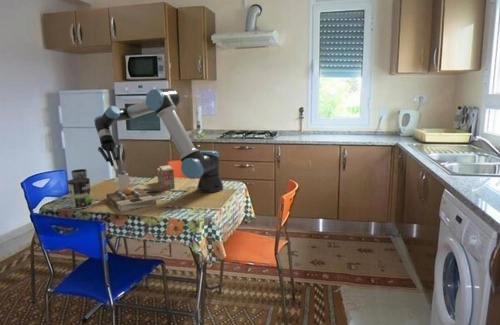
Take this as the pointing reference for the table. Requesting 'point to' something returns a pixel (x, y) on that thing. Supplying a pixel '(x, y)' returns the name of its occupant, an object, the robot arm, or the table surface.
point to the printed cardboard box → (166, 177)
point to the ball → (127, 191)
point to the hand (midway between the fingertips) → (116, 169)
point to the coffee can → (80, 193)
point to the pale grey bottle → (123, 181)
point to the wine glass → (79, 173)
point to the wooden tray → (131, 199)
